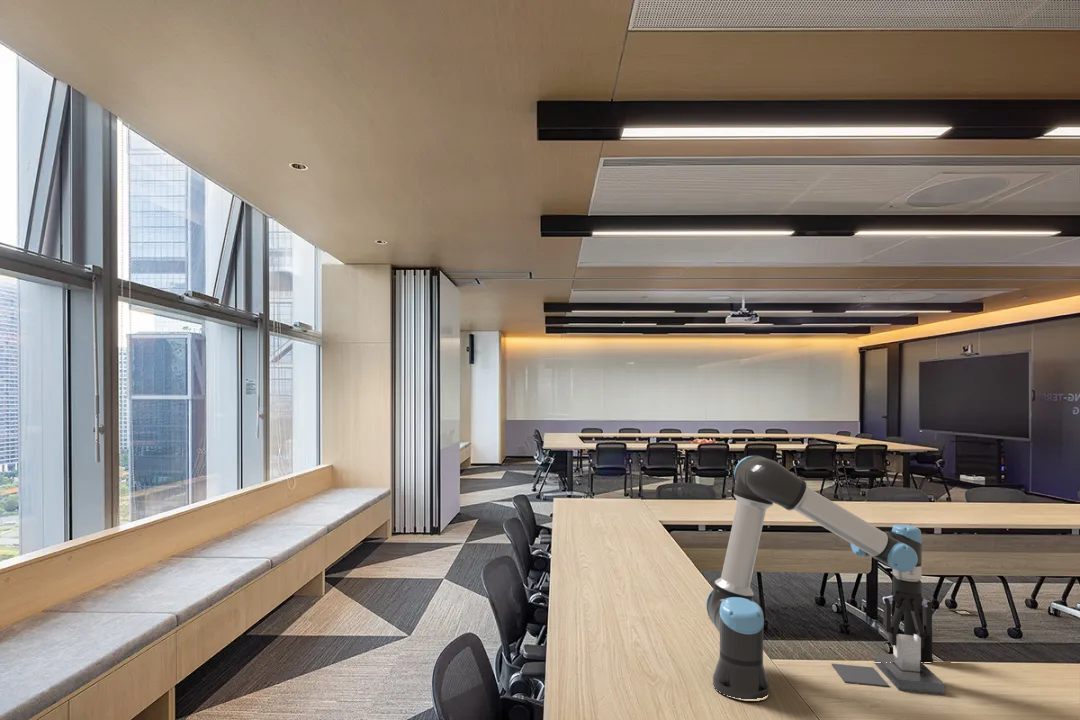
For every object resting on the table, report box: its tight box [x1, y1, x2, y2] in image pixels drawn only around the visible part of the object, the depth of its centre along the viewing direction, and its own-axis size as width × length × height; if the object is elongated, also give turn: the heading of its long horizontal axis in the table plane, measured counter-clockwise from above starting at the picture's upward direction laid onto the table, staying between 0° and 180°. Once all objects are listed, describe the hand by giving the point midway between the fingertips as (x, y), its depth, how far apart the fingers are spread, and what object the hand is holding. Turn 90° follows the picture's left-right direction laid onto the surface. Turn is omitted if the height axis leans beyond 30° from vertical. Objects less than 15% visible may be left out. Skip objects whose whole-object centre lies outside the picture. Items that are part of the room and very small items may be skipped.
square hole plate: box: [873, 652, 946, 696], centre depth 179 cm, size 12×18×3 cm, turn 171°
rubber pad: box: [830, 663, 890, 688], centre depth 180 cm, size 12×12×1 cm
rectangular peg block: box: [893, 633, 920, 673], centre depth 180 cm, size 5×5×10 cm
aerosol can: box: [903, 603, 934, 663], centre depth 195 cm, size 8×8×20 cm
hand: (906, 657), depth 180 cm, fingers closed on rectangular peg block, 5 cm apart
